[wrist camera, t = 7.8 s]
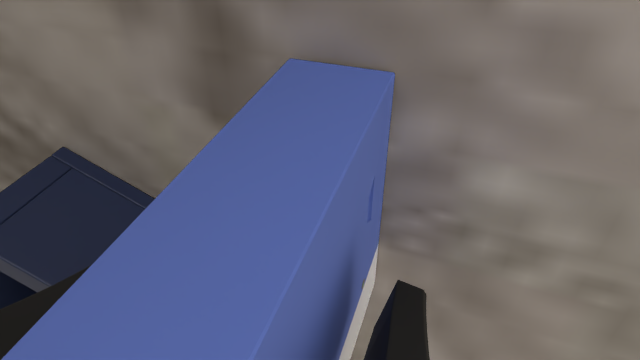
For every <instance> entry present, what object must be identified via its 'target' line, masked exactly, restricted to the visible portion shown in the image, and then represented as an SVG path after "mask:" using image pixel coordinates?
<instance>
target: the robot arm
mask: <svg viewBox="0 0 640 360" xmlns="http://www.w3.org/2000/svg"><path fill="white" fill-rule="evenodd" d="M90 266H91V265H90ZM90 266H88V267H86V268H84V269H83V270H81V271H79V272H77V273H75V274H73V275H72V276H70V277H68V278H66V279H64V280H62V281H60V282H58V283H56V284H54V285H52V286H50V287H48V288H46V289H44V290H42V291H39V292H37V293H35V294H33V295H31V296H29V297H27V298H25V299H22V300H20V301H18V302H15V303H13V304H11V305H9V306H6V307H4V308H2V309H0V360H1V359H2V358H3V357H4V356H5V355H6V354H7V353H8V352H9V351H10V350H11V349H12V348H13V347H14V346H15V345H16V344H17V342H18V341H19V340H20V339H21V338H22V337H23V336H24V335H25V334H26V333H27V332H28V331H29V330H30V329H31V328H32V327H33V326H34V325H35V324H36V323H37V322H38V321H39V320H40V318H41V317H42V316H43V315H44V314H45V313H46V312H47V311H48V310H49V309H50V308H51V307H52V306H53V305H54V304H55V303H56V302H57V301H58V300H59V299H60V298H61V297H62V296H63V294H64V293H65V292H66V291H67V290H68V289H69V288H70V287H71V286H72V285H73V284H74V283H75V282H76V281H77V280H78V279H79V278H80V277H81V276H82V275H83V274H84V273H85V272H86V270H87V269H88V268H89V267H90ZM364 360H430V359H429V349H428V337H427V322H426V293H425V292H424V290H422V289H420V288H417V287H415V286H412V285H410V284H407V283H405V282H402V281H400V280H398V281H397V283H396V285H395V287H394V289H393V291H392V293H391V295H390V297H389V299H388V301H387V303H386V305H385V307H384V309H383V311H382V313H381V315H380V317H379V319H378V321H377V323H376V325H375V327H374V330H373V333H372V336H371V339H370V342H369V345H368V348H367V351H366V355H365V358H364Z"/></svg>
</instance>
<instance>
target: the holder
mask: <svg viewBox="0 0 640 360" xmlns="http://www.w3.org/2000/svg"><path fill="white" fill-rule="evenodd" d="M154 200H155V199H154V198H152V197H151V196H149V195H147V194H145V193H144V192H142V191H140V190H138V189H137V188H135V187H133V186H131V185H130V184H128V183H126V182H124V181H123V180H121V179H119V178H117V177H116V176H114V175H112V174H110V173H109V172H107V171H105V170H103V169H102V168H100V167H98V166H96V165H95V164H93V163H91V162H89V161H88V160H86V159H84V158H82V157H81V156H79V155H77V154H75V153H74V152H72V151H70V150H68V149H67V148H65V147H62V148H60V149H59V150H58V151H56V152H55V153H53V154H52V156H50V157H48V158H47V159H46V160H44V161H43V162H42V163H40V164H39V165H37V166H36V167H35V168H33V169H32V170H30V171H29V172H28V173H26V174H25V175H24V176H22V177H21V178H19V179H18V180H17V181H15V182H14V183H13V184H11V185H10V186H8V187H7V188H6V189H4V190H3V191H2V192H0V309H2V308H4V307H6V306H9V305H11V304H13V303H15V302H18V301H20V300H22V299H25V298H27V297H29V296H31V295H33V294H35V293H37V292H39V291H42V290H44V289H46V288H48V287H50V286H52V285H54V284H56V283H58V282H60V281H62V280H64V279H66V278H68V277H70V276H72V275H73V274H75V273H77V272H79V271H81V270H83V269H84V268H86V267H88V266H90V265H92V264H93V263H94V262H95V261H96V260H97V259H98V258H99V257H100V256H101V255H102V254H103V253H104V252H105V251H106V250H107V249H108V248H109V246H110V245H111V244H112V243H113V242H114V241H115V240H116V239H117V238H118V237H119V236H120V235H121V234H122V233H123V232H124V231H125V230H126V229H127V228H128V227H129V226H130V225H131V224H132V222H133V221H134V220H135V219H136V218H137V217H138V216H139V215H140V214H141V213H142V212H143V211H144V210H145V209H146V208H147V207H148V206H149V205H150V204H151V203H152V202H153V201H154Z"/></svg>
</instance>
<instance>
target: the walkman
mask: <svg viewBox="0 0 640 360" xmlns="http://www.w3.org/2000/svg"><path fill="white" fill-rule="evenodd" d="M394 79H395V74H394V72H386V71H379V70H372V69H364V68H357V67H349V66H342V65H335V64H327V63H320V62H312V61H305V60H297V59H289V60H288V61H287V62H286V63H285V64H284V65H283V66H282V67H281V68H280V69H279V70H278V71H277V72H276V73H275V74H274V75H273V76H272V77H271V78H270V80H269V81H268V82H267V83H266V84H265V85H264V86H263V87H262V88H261V89H260V90H259V91H258V92H257V93H256V94H255V95H254V96H253V97H252V98H251V99H250V100H249V101H248V102H247V104H246V105H245V106H244V107H243V108H242V109H241V110H240V111H239V112H238V113H237V114H236V115H235V116H234V117H233V118H232V119H231V120H230V121H229V122H228V123H227V124H226V125H225V126H224V128H223V129H222V130H221V131H220V132H219V133H218V134H217V135H216V136H215V137H214V138H213V139H212V140H211V141H210V142H209V143H208V144H207V145H206V146H205V147H204V148H203V149H202V150H201V152H200V153H199V154H198V155H197V156H196V157H195V158H194V159H193V160H192V161H191V162H190V163H189V164H188V165H187V166H186V167H185V168H184V169H183V170H182V171H181V172H180V173H179V174H178V176H177V177H176V178H175V179H174V180H173V181H172V182H171V183H170V184H169V185H168V186H167V187H166V188H165V189H164V190H163V191H162V192H161V193H160V194H159V195H158V196H157V197H156V198H155V200H154V201H153V202H152V203H151V204H150V205H149V206H148V207H147V208H146V209H145V210H144V211H143V212H142V213H141V214H140V215H139V216H138V217H137V218H136V219H135V220H134V221H133V222H132V224H131V225H130V226H129V227H128V228H127V229H126V230H125V231H124V232H123V233H122V234H121V235H120V236H119V237H118V238H117V239H116V240H115V241H114V242H113V243H112V244H111V245H110V246H109V248H108V249H107V250H106V251H105V252H104V253H103V254H102V255H101V256H100V257H99V258H98V259H97V260H96V261H95V262H94V263H93V264H92V265H91V266H90V267H89V268H88V269H87V270H86V272H85V273H84V274H83V275H82V276H81V277H80V278H79V279H78V280H77V281H76V282H75V283H74V284H73V285H72V286H71V287H70V288H69V289H68V290H67V291H66V292H65V293H64V294H63V296H62V297H61V298H60V299H59V300H58V301H57V302H56V303H55V304H54V305H53V306H52V307H51V308H50V309H49V310H48V311H47V312H46V313H45V314H44V315H43V316H42V317H41V318H40V320H39V321H38V322H37V323H36V324H35V325H34V326H33V327H32V328H31V329H30V330H29V331H28V332H27V333H26V334H25V335H24V336H23V337H22V338H21V339H20V340H19V341H18V342H17V344H16V345H15V346H14V347H13V348H12V349H11V350H10V351H9V352H8V353H7V354H6V355H5V356H4V357H3V358H2V359H1V360H350V358H351V355H352V352H353V349H354V346H355V343H356V340H357V337H358V333H359V330H360V327H361V324H362V321H363V318H364V315H365V312H366V308H367V305H368V302H369V299H370V296H371V293H372V290H373V286H374V283H375V275H376V264H377V254H378V244H379V232H380V222H381V212H382V202H383V192H384V181H385V171H386V161H387V151H388V140H389V130H390V120H391V110H392V99H393V89H394Z"/></svg>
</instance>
